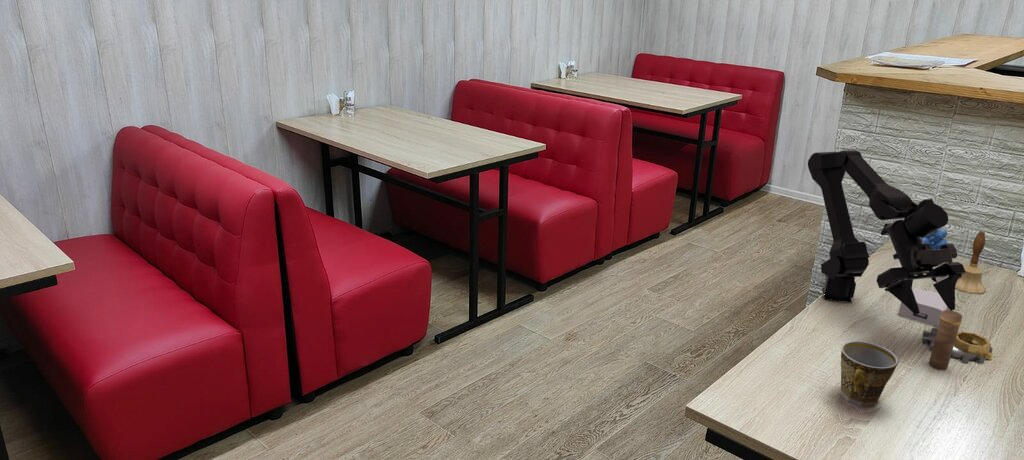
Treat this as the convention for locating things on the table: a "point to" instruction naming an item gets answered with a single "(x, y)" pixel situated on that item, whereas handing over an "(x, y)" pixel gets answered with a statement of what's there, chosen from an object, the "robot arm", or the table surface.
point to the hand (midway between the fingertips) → (935, 312)
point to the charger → (925, 307)
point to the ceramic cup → (865, 372)
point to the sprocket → (964, 346)
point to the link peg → (945, 339)
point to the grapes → (935, 239)
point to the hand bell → (973, 270)
